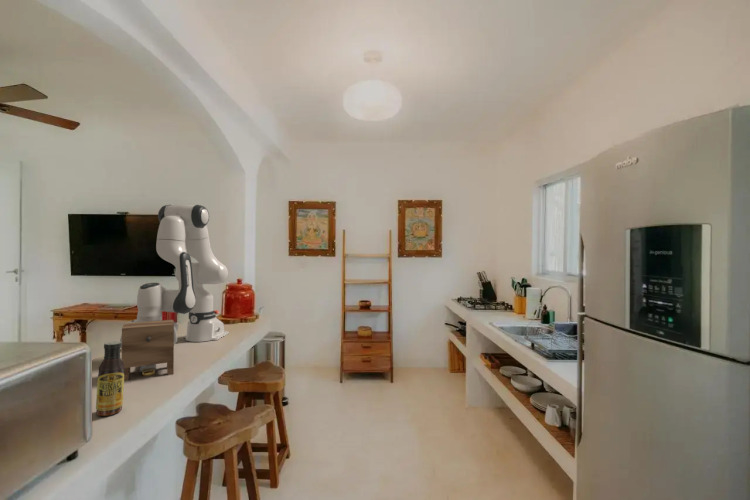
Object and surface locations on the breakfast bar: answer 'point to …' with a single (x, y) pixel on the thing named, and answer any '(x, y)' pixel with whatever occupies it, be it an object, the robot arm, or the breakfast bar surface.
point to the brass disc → (148, 372)
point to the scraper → (147, 367)
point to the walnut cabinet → (148, 345)
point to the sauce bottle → (110, 381)
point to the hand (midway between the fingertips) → (149, 356)
